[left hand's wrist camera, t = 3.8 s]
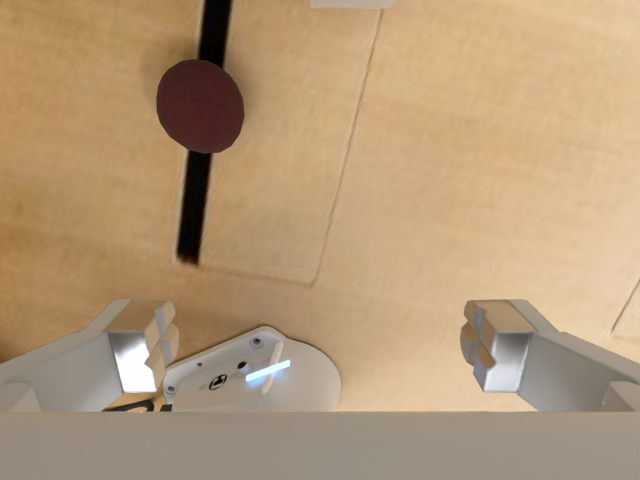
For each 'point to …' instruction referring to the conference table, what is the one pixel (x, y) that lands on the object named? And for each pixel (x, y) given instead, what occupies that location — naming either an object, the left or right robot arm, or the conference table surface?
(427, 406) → the conference table surface
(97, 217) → the conference table surface
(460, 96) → the conference table surface
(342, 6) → the box
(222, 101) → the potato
